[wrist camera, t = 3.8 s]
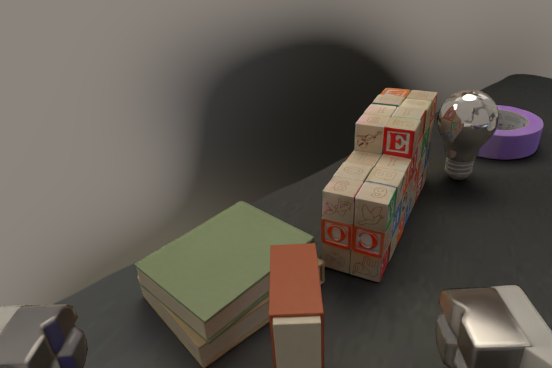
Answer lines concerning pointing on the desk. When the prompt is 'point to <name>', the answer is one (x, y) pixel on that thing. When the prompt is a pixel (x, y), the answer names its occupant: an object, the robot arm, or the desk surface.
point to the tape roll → (513, 135)
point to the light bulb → (466, 129)
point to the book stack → (217, 279)
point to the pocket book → (296, 307)
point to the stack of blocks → (378, 183)
